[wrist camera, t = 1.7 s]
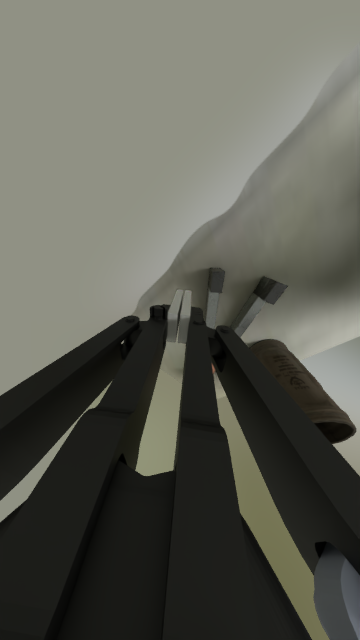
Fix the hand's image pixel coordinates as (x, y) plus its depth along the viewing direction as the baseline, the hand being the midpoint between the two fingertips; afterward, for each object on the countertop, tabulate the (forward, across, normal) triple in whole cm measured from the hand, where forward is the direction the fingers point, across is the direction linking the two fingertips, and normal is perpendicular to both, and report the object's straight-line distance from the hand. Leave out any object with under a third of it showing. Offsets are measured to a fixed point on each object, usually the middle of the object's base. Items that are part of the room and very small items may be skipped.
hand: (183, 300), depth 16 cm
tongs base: (+16, +12, -14) cm, 25 cm away
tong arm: (+16, +7, -9) cm, 20 cm away
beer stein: (+17, +26, -22) cm, 38 cm away
